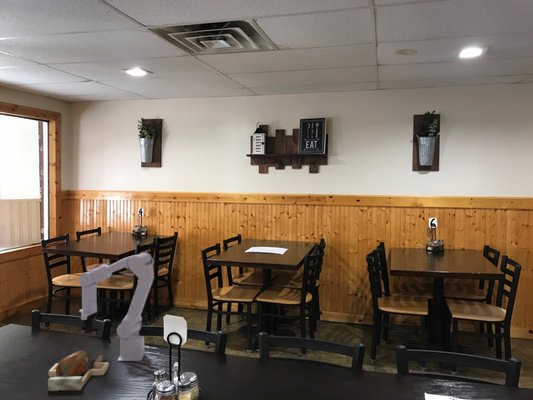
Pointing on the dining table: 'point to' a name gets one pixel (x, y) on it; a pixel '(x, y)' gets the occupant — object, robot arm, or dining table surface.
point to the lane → (70, 380)
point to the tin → (73, 364)
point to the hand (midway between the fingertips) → (89, 331)
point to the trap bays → (99, 370)
